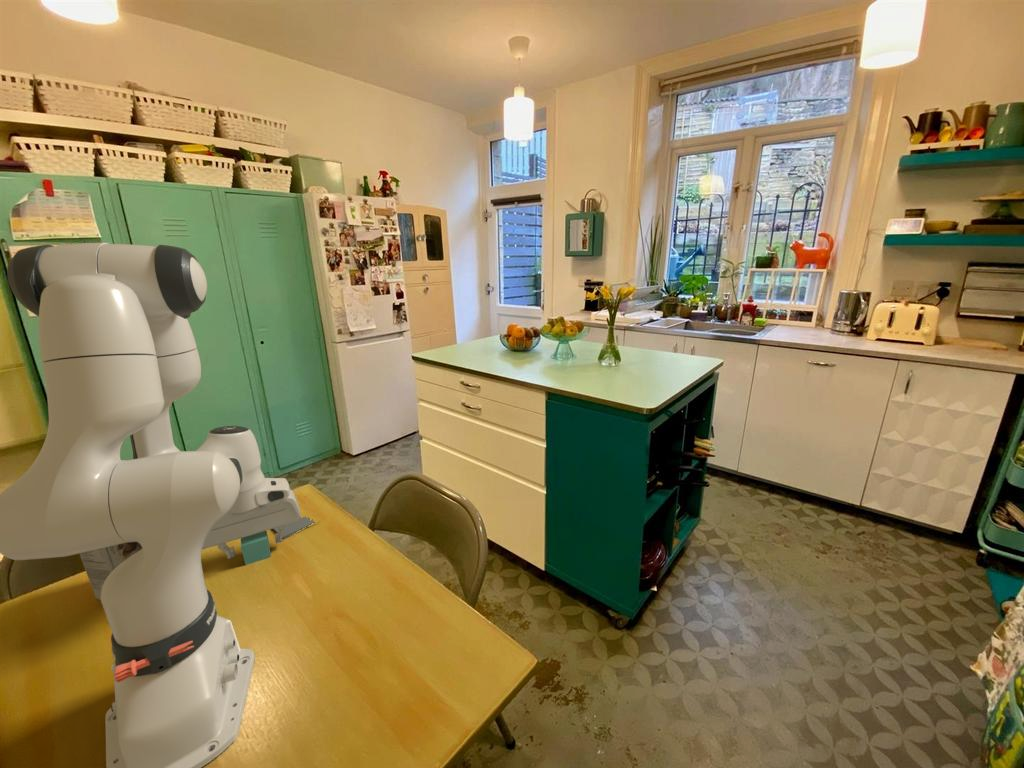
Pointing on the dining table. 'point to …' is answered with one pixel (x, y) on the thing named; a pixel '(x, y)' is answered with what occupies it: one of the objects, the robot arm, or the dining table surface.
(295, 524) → the mat
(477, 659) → the dining table surface
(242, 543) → the teal cube
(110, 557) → the coffee box
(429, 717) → the dining table surface
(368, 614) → the dining table surface
